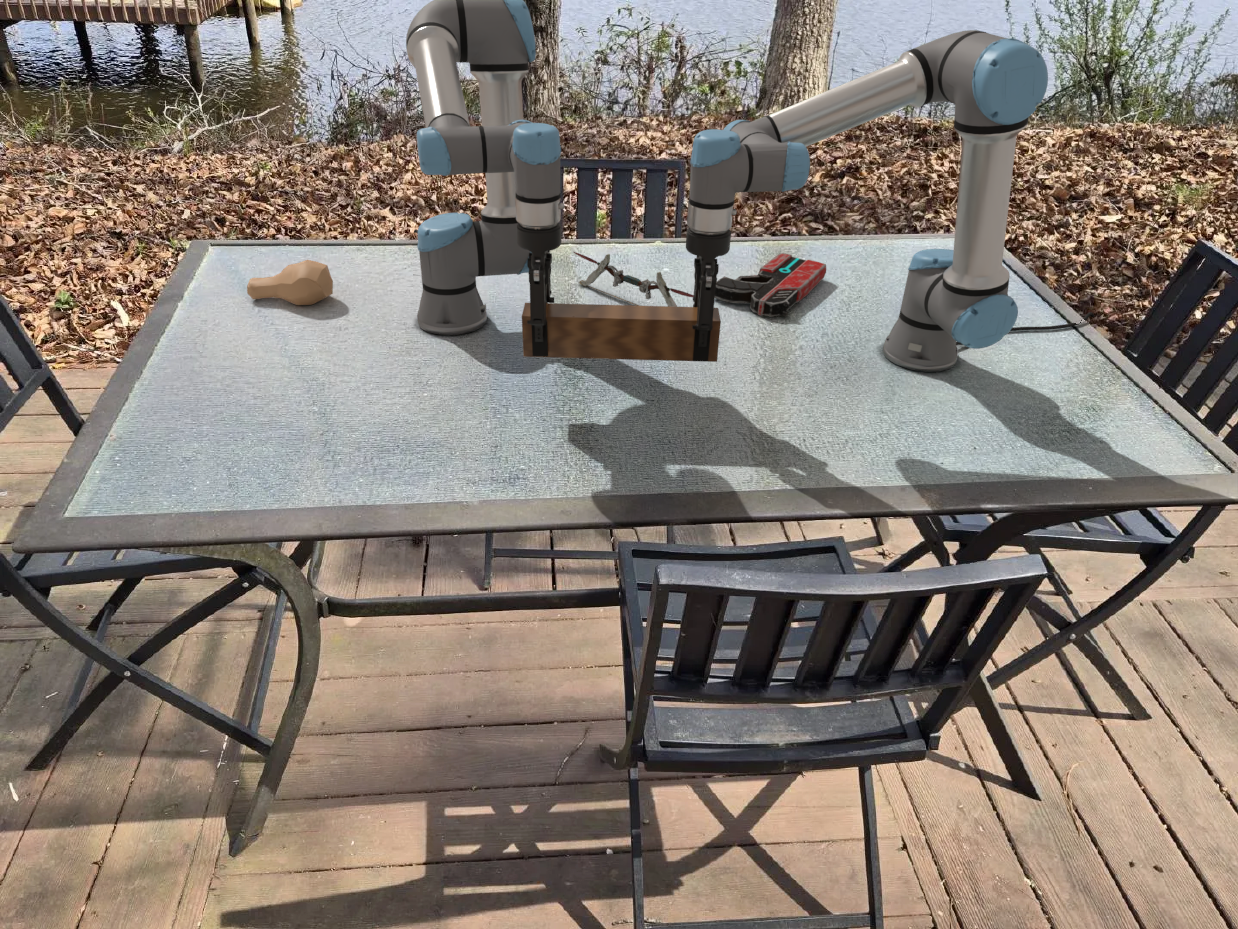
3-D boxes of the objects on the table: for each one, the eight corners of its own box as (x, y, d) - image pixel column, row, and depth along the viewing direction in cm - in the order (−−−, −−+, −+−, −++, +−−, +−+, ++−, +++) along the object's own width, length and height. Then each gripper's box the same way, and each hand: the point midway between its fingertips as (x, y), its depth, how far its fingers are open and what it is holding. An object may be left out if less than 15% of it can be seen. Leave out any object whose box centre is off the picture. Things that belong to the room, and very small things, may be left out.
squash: (332, 309, 201) (318, 275, 195) (248, 317, 202) (232, 283, 196) (343, 284, 209) (330, 250, 203) (262, 291, 210) (247, 258, 204)
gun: (708, 284, 207) (784, 305, 199) (760, 245, 229) (831, 262, 221) (706, 302, 209) (781, 323, 201) (758, 261, 231) (828, 278, 223)
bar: (523, 356, 158) (521, 316, 154) (526, 342, 163) (525, 302, 159) (717, 361, 158) (720, 321, 154) (714, 347, 163) (718, 307, 159)
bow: (697, 327, 197) (701, 285, 192) (692, 329, 196) (696, 287, 191) (576, 279, 219) (576, 241, 213) (571, 281, 218) (571, 242, 212)
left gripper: (556, 243, 139) (558, 371, 152) (564, 204, 156) (566, 323, 169) (509, 242, 139) (515, 370, 152) (522, 203, 156) (527, 322, 169)
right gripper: (736, 248, 140) (724, 376, 153) (726, 210, 156) (715, 330, 168) (689, 247, 140) (681, 375, 153) (684, 209, 156) (676, 329, 168)
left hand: (542, 345), depth 160 cm, fingers open, 7 cm apart
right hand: (699, 351), depth 161 cm, fingers closed on bar, 6 cm apart
